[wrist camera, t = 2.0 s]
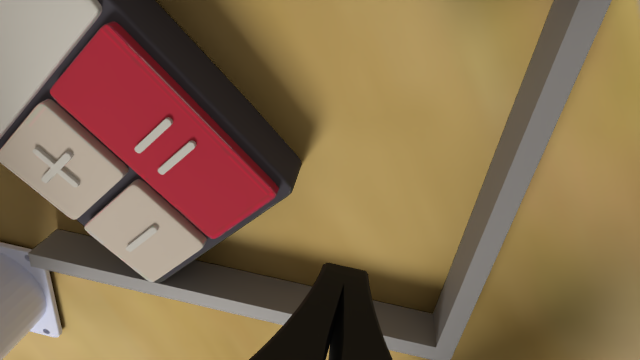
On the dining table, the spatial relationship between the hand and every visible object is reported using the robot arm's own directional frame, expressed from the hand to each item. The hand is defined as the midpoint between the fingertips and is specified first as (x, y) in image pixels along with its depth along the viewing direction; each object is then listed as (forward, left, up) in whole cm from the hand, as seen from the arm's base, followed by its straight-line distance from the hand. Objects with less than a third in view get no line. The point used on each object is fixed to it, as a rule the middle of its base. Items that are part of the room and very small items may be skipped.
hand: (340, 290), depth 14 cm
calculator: (-12, 0, -10) cm, 16 cm away
